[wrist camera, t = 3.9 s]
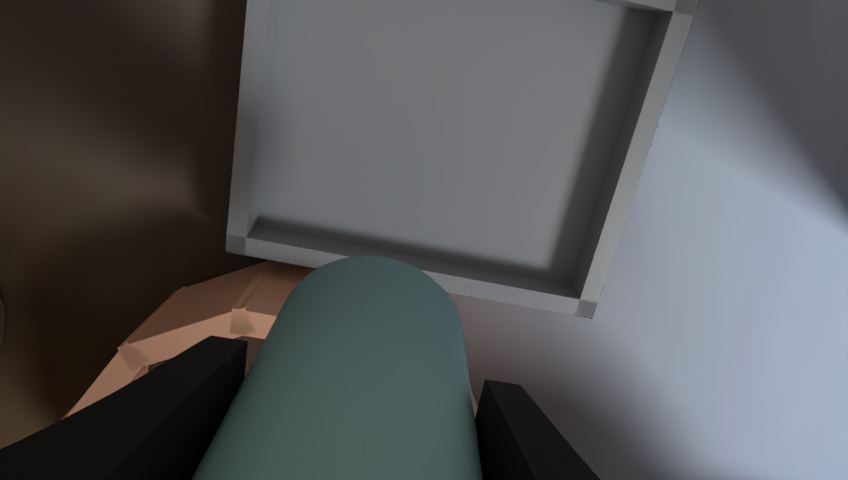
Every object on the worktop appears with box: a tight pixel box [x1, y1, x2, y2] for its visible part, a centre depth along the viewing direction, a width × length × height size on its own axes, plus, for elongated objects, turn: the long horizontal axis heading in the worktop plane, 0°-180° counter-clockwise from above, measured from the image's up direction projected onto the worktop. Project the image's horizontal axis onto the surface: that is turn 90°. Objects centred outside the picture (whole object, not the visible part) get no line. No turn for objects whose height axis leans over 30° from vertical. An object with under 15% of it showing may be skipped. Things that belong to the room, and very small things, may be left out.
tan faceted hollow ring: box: [61, 260, 478, 420], centre depth 19 cm, size 14×14×4 cm
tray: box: [225, 0, 700, 319], centre depth 17 cm, size 12×10×2 cm
